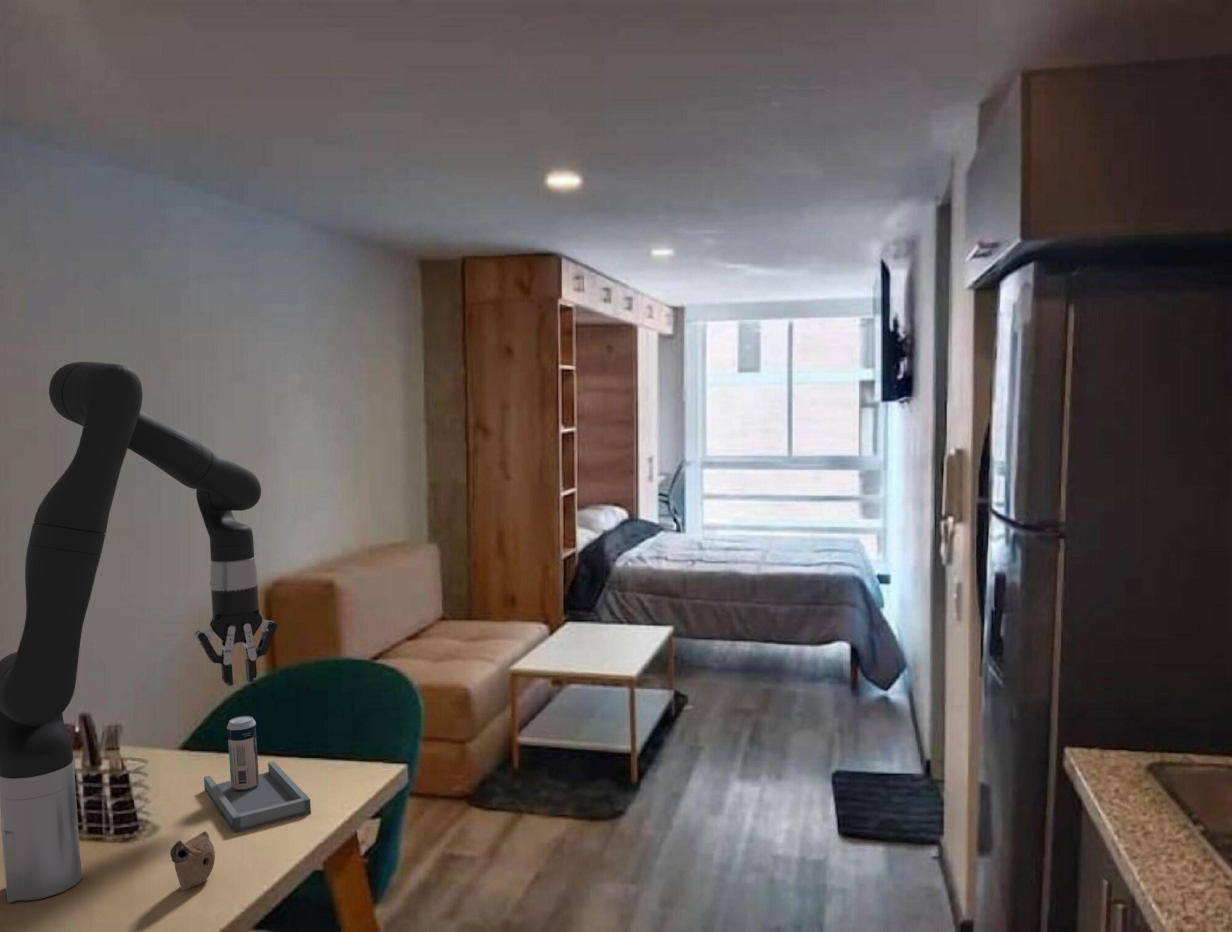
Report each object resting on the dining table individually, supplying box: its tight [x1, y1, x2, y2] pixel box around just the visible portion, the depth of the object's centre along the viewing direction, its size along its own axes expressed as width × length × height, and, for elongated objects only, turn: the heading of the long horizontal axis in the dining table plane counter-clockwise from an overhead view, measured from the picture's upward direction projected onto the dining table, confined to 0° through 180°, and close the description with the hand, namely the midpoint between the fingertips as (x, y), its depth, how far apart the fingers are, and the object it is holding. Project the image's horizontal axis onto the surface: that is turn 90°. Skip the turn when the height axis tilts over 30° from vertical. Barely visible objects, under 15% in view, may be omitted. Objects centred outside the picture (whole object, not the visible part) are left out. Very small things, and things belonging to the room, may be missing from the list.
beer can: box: [226, 715, 260, 791], centre depth 172 cm, size 5×5×12 cm
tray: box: [203, 760, 312, 834], centre depth 167 cm, size 12×22×2 cm, turn 34°
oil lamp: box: [169, 831, 216, 891], centre depth 137 cm, size 9×4×8 cm, turn 173°
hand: (240, 682), depth 171 cm, fingers open, 3 cm apart
